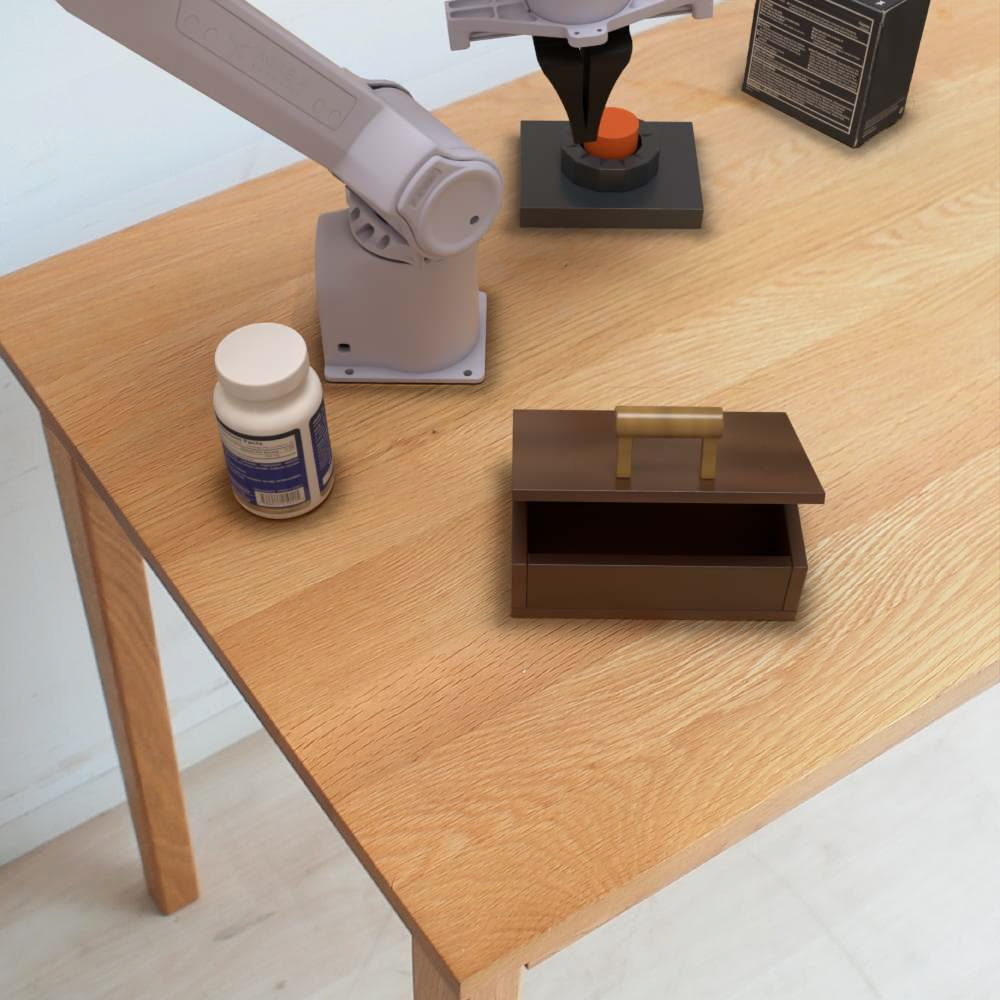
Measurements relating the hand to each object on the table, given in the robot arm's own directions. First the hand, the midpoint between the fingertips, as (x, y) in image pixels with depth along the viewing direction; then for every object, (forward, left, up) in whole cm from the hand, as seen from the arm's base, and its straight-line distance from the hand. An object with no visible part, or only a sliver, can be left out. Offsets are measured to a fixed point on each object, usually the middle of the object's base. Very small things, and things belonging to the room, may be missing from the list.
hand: (583, 132), depth 85 cm
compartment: (+3, -23, -10) cm, 26 cm away
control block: (+2, +9, -10) cm, 13 cm away
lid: (+3, -23, -3) cm, 24 cm away
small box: (+18, +19, -10) cm, 28 cm away
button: (+2, +9, -7) cm, 11 cm away
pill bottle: (-17, -19, -10) cm, 27 cm away
